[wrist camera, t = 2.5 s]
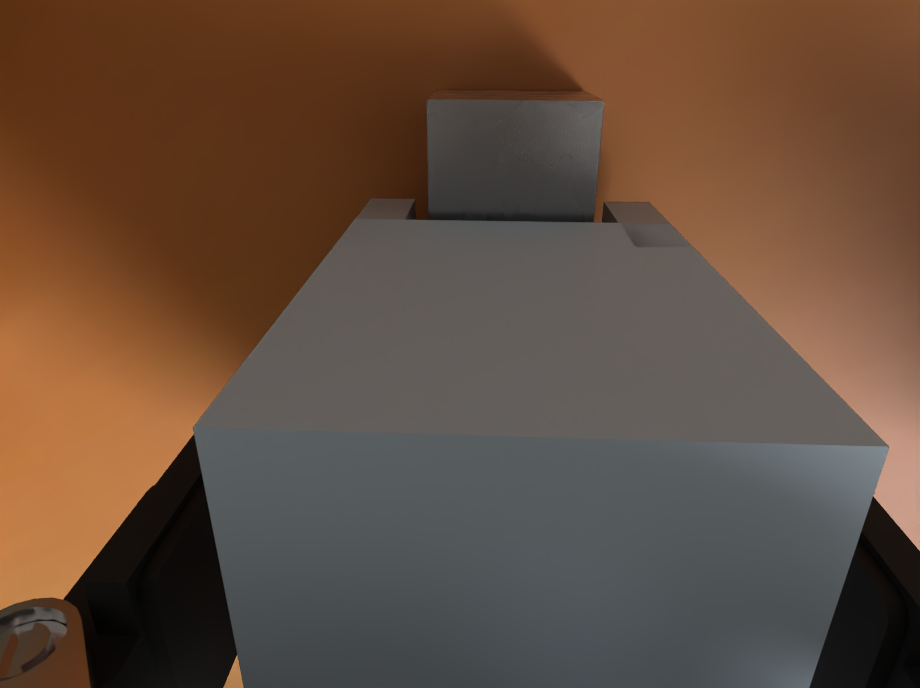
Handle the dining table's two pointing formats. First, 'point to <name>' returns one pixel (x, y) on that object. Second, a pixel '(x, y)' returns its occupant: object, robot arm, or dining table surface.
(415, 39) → the dining table surface
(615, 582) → the carriage
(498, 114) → the rail
